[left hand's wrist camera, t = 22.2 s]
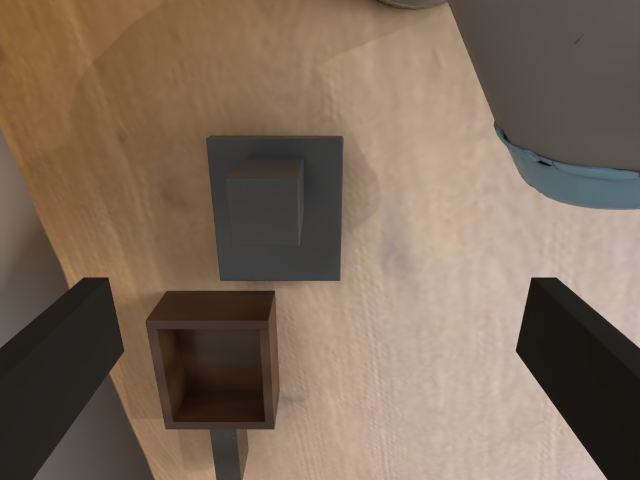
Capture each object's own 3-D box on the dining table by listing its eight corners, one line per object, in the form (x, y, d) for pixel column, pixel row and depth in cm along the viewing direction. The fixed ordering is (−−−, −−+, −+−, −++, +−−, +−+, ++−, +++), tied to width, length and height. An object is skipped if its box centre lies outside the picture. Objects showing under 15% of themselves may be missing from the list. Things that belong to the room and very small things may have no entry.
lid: (215, 132, 39) (170, 156, 27) (341, 133, 39) (350, 156, 27) (227, 265, 44) (194, 333, 32) (338, 265, 44) (345, 333, 32)
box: (166, 290, 45) (145, 320, 40) (274, 290, 45) (268, 320, 40) (192, 450, 54) (177, 493, 48) (282, 450, 54) (278, 492, 48)
